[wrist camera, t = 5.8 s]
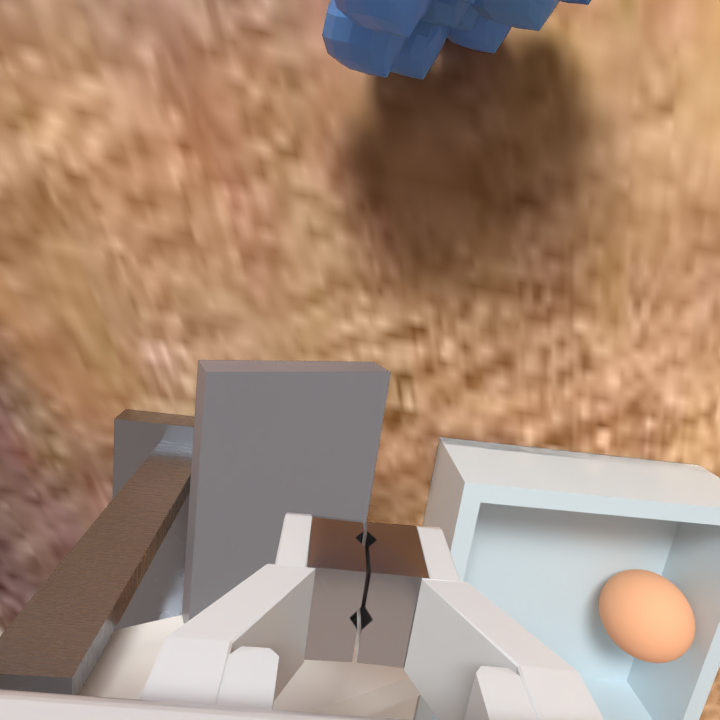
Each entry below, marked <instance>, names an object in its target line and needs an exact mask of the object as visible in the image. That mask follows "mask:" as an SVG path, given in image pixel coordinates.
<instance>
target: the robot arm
mask: <svg viewBox="0 0 720 720" xmlns="http://www.w3.org/2000/svg"><path fill="white" fill-rule="evenodd" d="M311 522H312V524H311ZM355 641H356V663H365V664H374V665H383V666H392V667H401V668H404V671H405V672H406V674H407V675H408V677H409V678H410V680H411V681H412V683H413V684H414V685H415V687H416V688H417V690H418V691H419V693H420V694H421V696H422V697H423V699H424V700H425V701H426V703H427V704H428V706H429V707H430V709H431V710H432V712H433V713H434V714H435V716H436V717H437V719H438V720H604V719H603V717H602V715H601V713H600V711H599V709H598V707H597V706H596V704H595V702H594V700H593V698H592V696H591V694H590V693H589V691H588V689H587V687H586V685H585V683H584V681H583V680H582V678H581V676H580V674H579V672H578V671H577V670H575V669H574V668H573V667H572V666H570V665H569V664H568V663H567V662H565V661H564V660H563V659H562V658H561V657H559V656H558V655H557V654H556V653H554V652H553V651H552V650H551V649H549V648H548V647H547V646H546V645H544V644H543V643H542V642H541V641H540V640H538V639H537V638H536V637H535V636H533V635H532V634H531V633H530V632H528V631H527V630H526V629H525V628H523V627H522V626H521V625H520V624H519V623H517V622H516V621H515V620H514V619H512V618H511V617H510V616H509V615H507V614H506V613H505V612H504V611H503V610H501V609H500V608H499V607H498V606H496V605H495V604H494V603H493V602H491V601H490V600H489V599H488V598H486V597H485V596H484V595H483V594H482V593H480V592H479V591H478V590H477V589H475V588H474V587H473V586H472V585H470V584H469V583H468V582H460V579H459V576H458V573H457V570H456V567H455V565H454V562H453V559H452V556H451V553H450V550H449V547H448V545H447V542H446V539H445V536H444V533H443V530H442V529H441V528H440V527H429V526H412V525H399V524H385V523H372V522H365V524H364V528H363V522H362V521H359V520H351V519H342V518H334V517H326V516H318V515H313V517H312V516H311V514H301V513H290V512H287V513H286V515H285V517H284V522H283V527H282V532H281V537H280V542H279V547H278V551H277V556H276V561H275V564H266V565H265V566H263V567H262V568H261V569H259V570H258V571H257V572H255V573H254V574H252V575H251V576H250V577H248V578H247V579H246V580H244V581H243V582H241V583H240V584H239V585H237V586H236V587H235V588H233V589H232V590H230V591H229V592H228V593H226V594H225V595H224V596H222V597H221V598H219V599H218V600H217V601H215V602H214V603H213V604H211V605H210V606H208V607H207V608H206V609H204V610H203V611H202V612H200V613H199V614H197V615H196V616H195V617H193V618H192V619H191V620H189V621H188V622H186V623H185V624H184V625H182V626H181V627H180V628H178V629H177V630H175V631H174V632H173V633H171V634H170V635H169V636H167V637H166V639H165V641H164V644H163V646H162V648H161V650H160V653H159V655H158V657H157V659H156V662H155V664H154V666H153V668H152V671H151V673H150V675H149V677H148V680H147V682H146V684H145V686H144V689H143V691H142V693H141V695H140V697H139V700H137V699H124V698H110V697H97V696H83V695H70V694H56V693H43V692H30V691H16V690H3V689H0V720H407V719H393V718H380V717H366V716H353V715H340V714H326V713H313V712H299V711H286V710H273V705H274V701H275V700H276V698H277V697H278V696H279V694H280V693H281V692H282V690H283V689H284V688H285V686H286V685H287V684H288V682H289V681H290V680H291V678H292V677H293V676H294V675H295V673H296V672H297V671H298V669H299V668H300V667H301V665H302V664H303V663H304V660H320V661H339V662H352V659H353V653H354V647H355Z"/></svg>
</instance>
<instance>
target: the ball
mask: <svg viewBox="0 0 720 720" xmlns="http://www.w3.org/2000/svg"><path fill="white" fill-rule="evenodd" d="M599 613H600V617H601V621H602V623H603V626H604V628H605V630H606V632H607V633H608V635H609V636H610V638H611V639H612V640H613V641H614V642H615V643H616V645H617V646H619V647H620V648H621V649H622V650H623V651H625V652H626V653H628V654H629V655H631V656H633V657H635V658H637V659H639V660H643V661H646V662H651V663H666V662H670V661H673V660H676V659H677V658H679V657H681V656H682V655H683V654H684V653H685V652H686V651H687V650H688V649H689V648H690V646H691V644H692V642H693V639H694V635H695V619H694V614H693V611H692V609H691V606H690V604H689V602H688V601H687V599H686V597H685V596H684V595H683V593H682V592H681V591H680V590H679V589H678V588H677V587H676V586H675V585H674V584H673V583H672V582H670V581H669V580H667V579H666V578H664V577H662V576H661V575H659V574H656V573H654V572H651V571H647V570H641V569H631V570H625V571H622V572H619V573H617V574H615V575H614V576H612V577H611V578H610V579H609V580H608V581H607V582H606V584H605V585H604V587H603V589H602V591H601V593H600V598H599Z"/></svg>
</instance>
